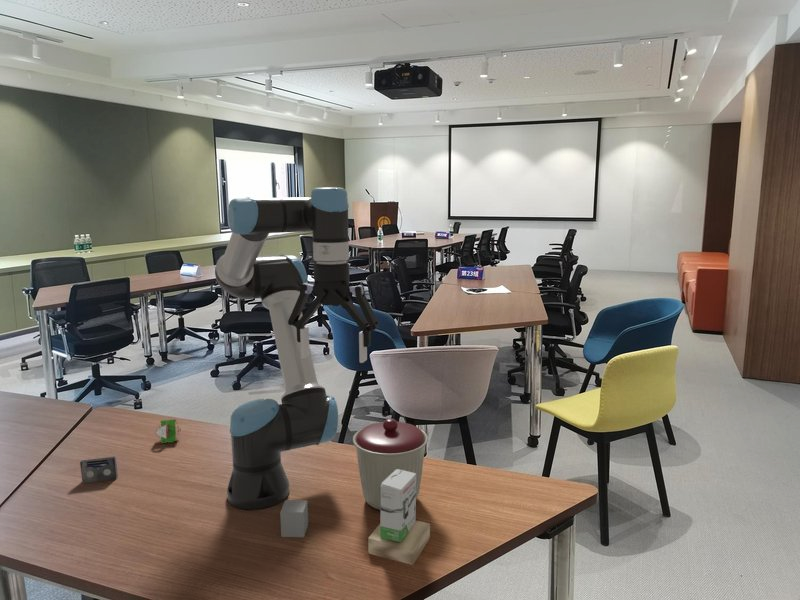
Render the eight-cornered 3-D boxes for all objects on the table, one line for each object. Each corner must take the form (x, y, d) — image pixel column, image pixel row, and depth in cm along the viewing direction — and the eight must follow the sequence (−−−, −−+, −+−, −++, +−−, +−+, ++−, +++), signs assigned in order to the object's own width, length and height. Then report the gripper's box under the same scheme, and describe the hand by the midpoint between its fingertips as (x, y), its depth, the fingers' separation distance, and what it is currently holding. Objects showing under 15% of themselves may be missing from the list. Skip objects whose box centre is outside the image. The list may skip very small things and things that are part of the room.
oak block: (368, 555, 119) (368, 538, 118) (388, 530, 128) (388, 513, 127) (412, 567, 115) (412, 549, 114) (429, 540, 124) (430, 523, 123)
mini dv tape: (117, 476, 153) (115, 455, 151) (116, 479, 151) (114, 458, 150) (84, 480, 150) (81, 459, 149) (82, 483, 149) (80, 462, 148)
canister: (338, 503, 139) (336, 421, 135) (387, 475, 152) (386, 400, 148) (395, 530, 127) (394, 441, 123) (442, 497, 141) (443, 417, 137)
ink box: (400, 543, 116) (401, 490, 114) (378, 538, 118) (379, 485, 116) (416, 522, 124) (417, 472, 122) (395, 517, 126) (396, 467, 124)
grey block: (281, 537, 125) (280, 512, 124) (286, 524, 130) (285, 500, 129) (304, 537, 125) (302, 512, 124) (308, 524, 130) (307, 500, 129)
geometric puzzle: (159, 428, 178) (155, 415, 173) (182, 426, 180) (179, 413, 174) (157, 449, 174) (153, 436, 168) (181, 446, 175) (177, 433, 170)
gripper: (269, 262, 120) (274, 359, 124) (381, 265, 113) (383, 368, 117) (286, 258, 127) (290, 350, 131) (392, 261, 120) (393, 358, 124)
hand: (333, 359), depth 124 cm, fingers open, 13 cm apart
